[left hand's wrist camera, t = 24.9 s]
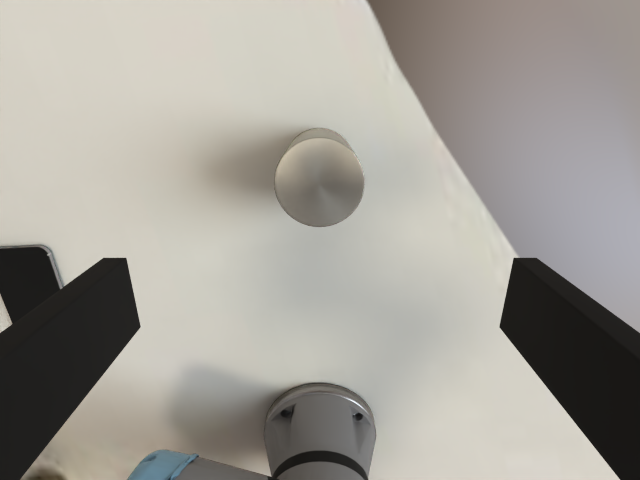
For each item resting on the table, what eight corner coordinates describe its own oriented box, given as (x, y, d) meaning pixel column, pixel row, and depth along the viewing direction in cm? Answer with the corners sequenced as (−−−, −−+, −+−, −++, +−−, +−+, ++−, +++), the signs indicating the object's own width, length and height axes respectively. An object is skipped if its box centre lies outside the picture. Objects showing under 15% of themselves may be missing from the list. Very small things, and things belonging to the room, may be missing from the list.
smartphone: (45, 246, 41) (83, 356, 46) (49, 244, 42) (86, 353, 47) (-19, 249, 41) (26, 359, 46) (-14, 247, 42) (30, 355, 47)
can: (350, 123, 37) (360, 131, 28) (357, 192, 40) (368, 221, 30) (279, 133, 37) (266, 144, 28) (291, 201, 40) (282, 232, 31)
